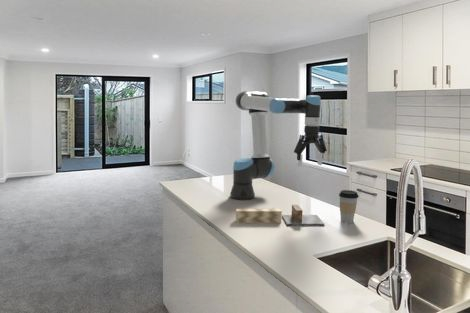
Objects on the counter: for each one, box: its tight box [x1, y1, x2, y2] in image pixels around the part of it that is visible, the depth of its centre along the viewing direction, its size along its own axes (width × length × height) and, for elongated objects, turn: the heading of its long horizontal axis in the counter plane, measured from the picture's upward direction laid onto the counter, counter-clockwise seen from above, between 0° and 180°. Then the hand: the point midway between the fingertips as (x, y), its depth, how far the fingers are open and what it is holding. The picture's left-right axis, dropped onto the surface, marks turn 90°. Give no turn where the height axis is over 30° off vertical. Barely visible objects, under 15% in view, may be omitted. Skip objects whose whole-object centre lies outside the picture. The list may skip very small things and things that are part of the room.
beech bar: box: [235, 208, 283, 224], centre depth 186 cm, size 22×4×6 cm, turn 93°
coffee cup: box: [338, 189, 360, 224], centre depth 187 cm, size 9×9×15 cm
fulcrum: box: [281, 204, 325, 227], centre depth 187 cm, size 18×14×7 cm
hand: (309, 165), depth 200 cm, fingers open, 13 cm apart
